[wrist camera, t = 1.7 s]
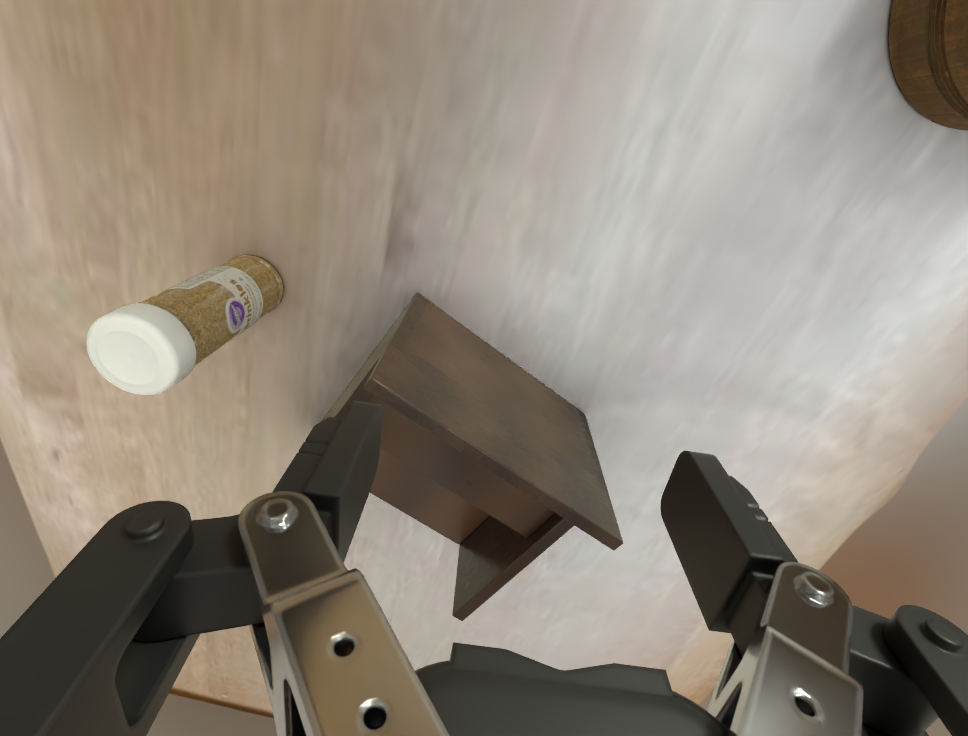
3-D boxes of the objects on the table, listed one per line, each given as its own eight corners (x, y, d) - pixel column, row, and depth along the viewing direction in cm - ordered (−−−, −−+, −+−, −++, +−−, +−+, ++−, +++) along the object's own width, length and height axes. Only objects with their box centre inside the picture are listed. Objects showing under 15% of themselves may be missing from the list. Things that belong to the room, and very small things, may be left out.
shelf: (314, 431, 42) (232, 561, 29) (417, 292, 36) (371, 377, 23) (470, 525, 46) (458, 674, 33) (585, 414, 40) (623, 543, 27)
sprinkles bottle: (294, 304, 36) (192, 388, 24) (241, 317, 37) (115, 406, 25) (269, 245, 35) (144, 305, 22) (212, 260, 35) (61, 326, 23)
